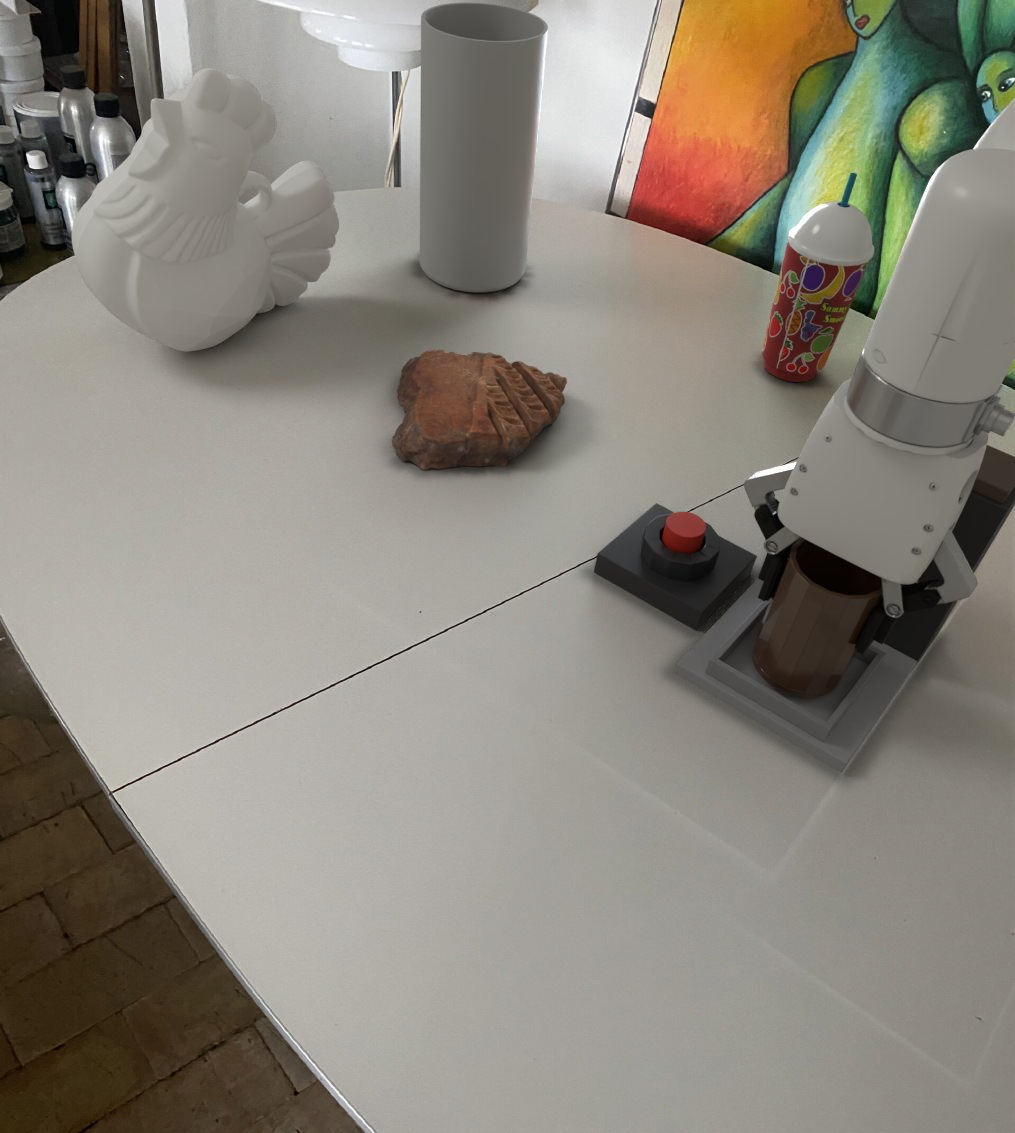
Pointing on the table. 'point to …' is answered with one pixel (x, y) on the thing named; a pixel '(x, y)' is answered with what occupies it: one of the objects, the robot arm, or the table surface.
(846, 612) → the brown cup
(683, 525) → the button
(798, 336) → the smoothie
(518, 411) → the pottery shard
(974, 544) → the coffee maker
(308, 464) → the table surface
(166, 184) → the decorative rooster
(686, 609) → the black button housing
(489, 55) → the cylinder vase
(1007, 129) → the robot arm
